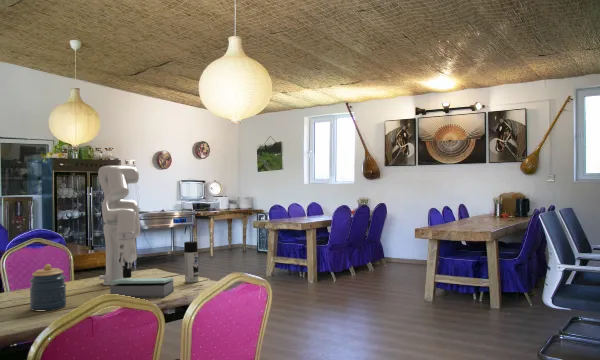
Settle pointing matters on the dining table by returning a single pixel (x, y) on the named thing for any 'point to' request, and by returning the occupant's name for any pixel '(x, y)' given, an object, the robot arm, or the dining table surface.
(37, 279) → the canister
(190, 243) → the spray can
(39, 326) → the dining table surface
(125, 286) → the gray rectangular tray
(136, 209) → the robot arm
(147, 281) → the cover
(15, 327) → the dining table surface
